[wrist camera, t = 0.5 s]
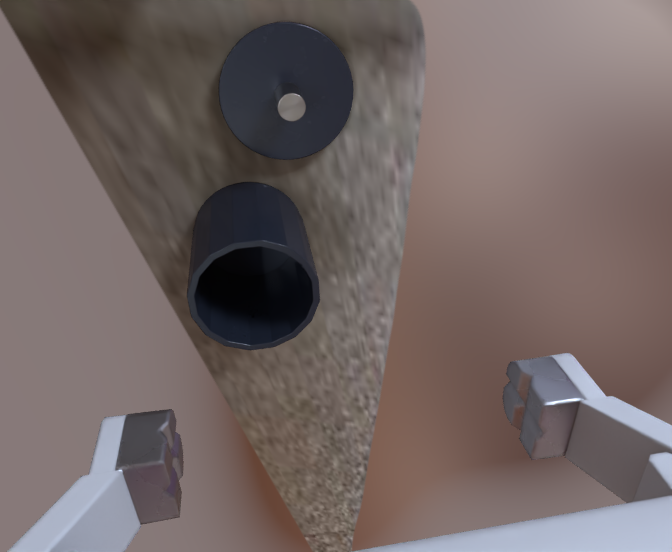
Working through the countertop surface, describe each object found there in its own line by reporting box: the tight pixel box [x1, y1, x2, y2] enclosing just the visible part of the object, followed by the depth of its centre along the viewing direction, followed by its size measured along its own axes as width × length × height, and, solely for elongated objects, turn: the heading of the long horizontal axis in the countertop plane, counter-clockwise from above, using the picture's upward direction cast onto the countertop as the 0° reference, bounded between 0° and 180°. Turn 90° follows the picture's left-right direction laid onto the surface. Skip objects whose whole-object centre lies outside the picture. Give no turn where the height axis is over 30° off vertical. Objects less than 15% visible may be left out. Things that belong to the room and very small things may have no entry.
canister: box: [187, 182, 320, 350], centre depth 55 cm, size 11×11×12 cm
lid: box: [219, 22, 353, 160], centre depth 51 cm, size 12×12×5 cm
